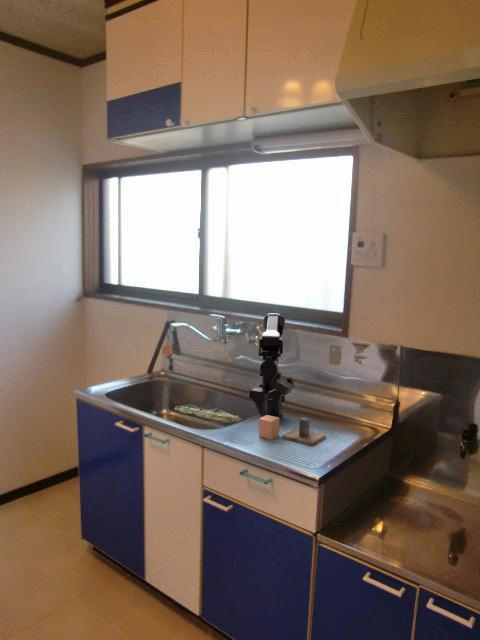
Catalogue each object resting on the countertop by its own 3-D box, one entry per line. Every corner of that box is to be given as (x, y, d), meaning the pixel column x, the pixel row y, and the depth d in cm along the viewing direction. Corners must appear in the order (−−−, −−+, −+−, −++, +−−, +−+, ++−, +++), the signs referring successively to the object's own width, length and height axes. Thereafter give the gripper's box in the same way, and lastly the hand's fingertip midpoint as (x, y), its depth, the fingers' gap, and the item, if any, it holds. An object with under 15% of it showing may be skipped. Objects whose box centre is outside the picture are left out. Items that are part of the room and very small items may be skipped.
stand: (282, 438, 179) (282, 419, 178) (296, 430, 187) (296, 411, 186) (312, 446, 172) (313, 426, 171) (325, 437, 180) (326, 418, 179)
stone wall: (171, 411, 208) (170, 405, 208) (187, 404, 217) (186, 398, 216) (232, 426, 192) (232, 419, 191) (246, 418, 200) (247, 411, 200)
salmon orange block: (258, 436, 180) (259, 418, 179) (266, 432, 184) (267, 414, 183) (271, 439, 177) (271, 421, 176) (278, 435, 181) (279, 417, 180)
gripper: (275, 379, 165) (274, 424, 167) (303, 368, 180) (301, 410, 182) (247, 374, 172) (247, 417, 174) (276, 364, 187) (275, 404, 189)
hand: (269, 412), depth 180 cm, fingers open, 9 cm apart
